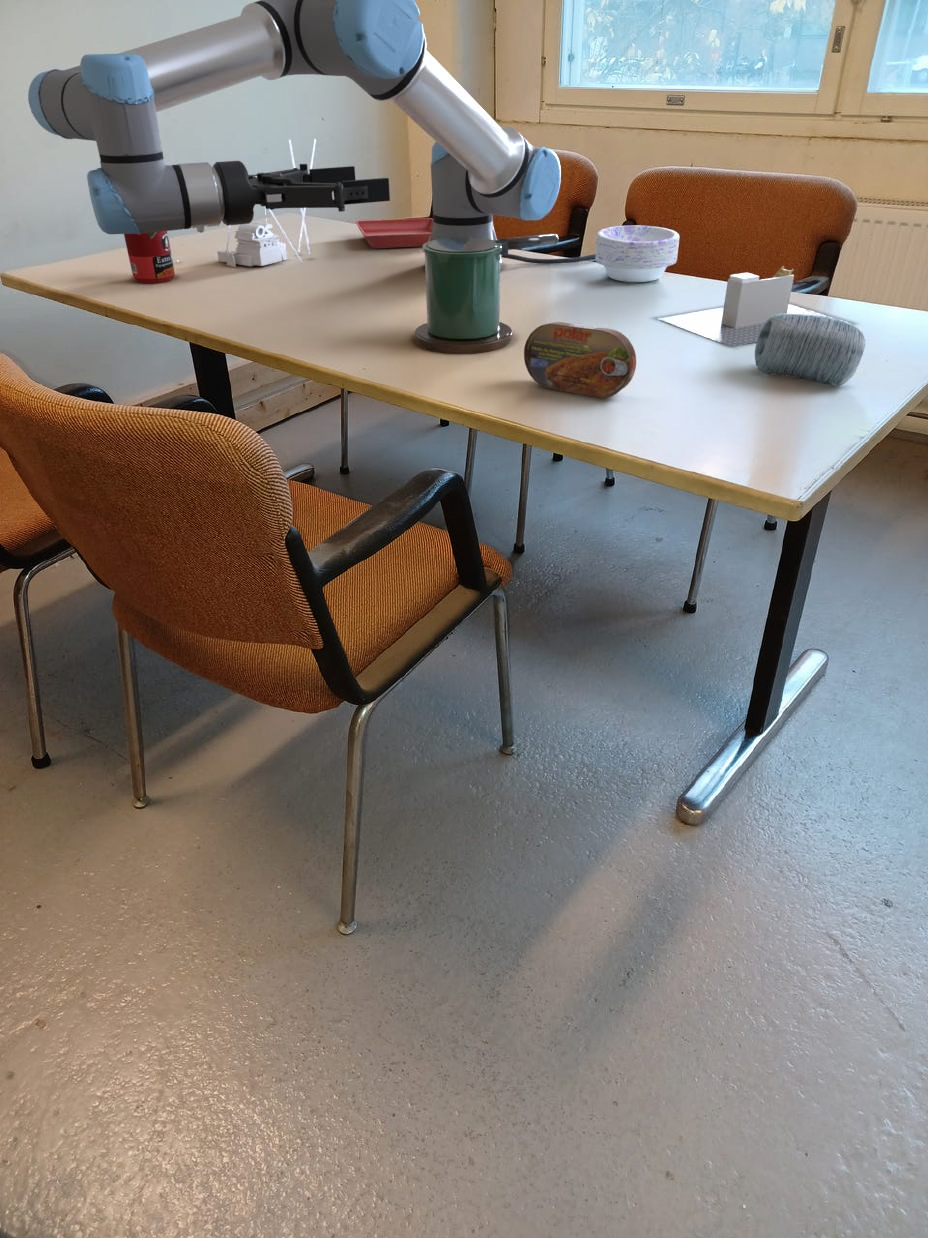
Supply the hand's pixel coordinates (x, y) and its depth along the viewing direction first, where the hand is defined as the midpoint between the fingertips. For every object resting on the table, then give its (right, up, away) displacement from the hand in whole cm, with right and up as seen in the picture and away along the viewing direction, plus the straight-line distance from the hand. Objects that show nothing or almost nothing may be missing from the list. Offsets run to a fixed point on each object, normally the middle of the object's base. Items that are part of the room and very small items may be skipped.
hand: (371, 182), depth 122 cm
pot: (+17, -15, +14) cm, 27 cm away
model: (+60, -13, +20) cm, 64 cm away
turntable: (+13, -17, +13) cm, 25 cm away
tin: (+28, -31, -6) cm, 42 cm away
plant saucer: (-1, +24, +76) cm, 80 cm away
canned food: (-47, +5, +48) cm, 68 cm away
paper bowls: (+45, +4, +45) cm, 64 cm away
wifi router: (-30, +15, +62) cm, 71 cm away
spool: (+59, -28, -3) cm, 65 cm away
